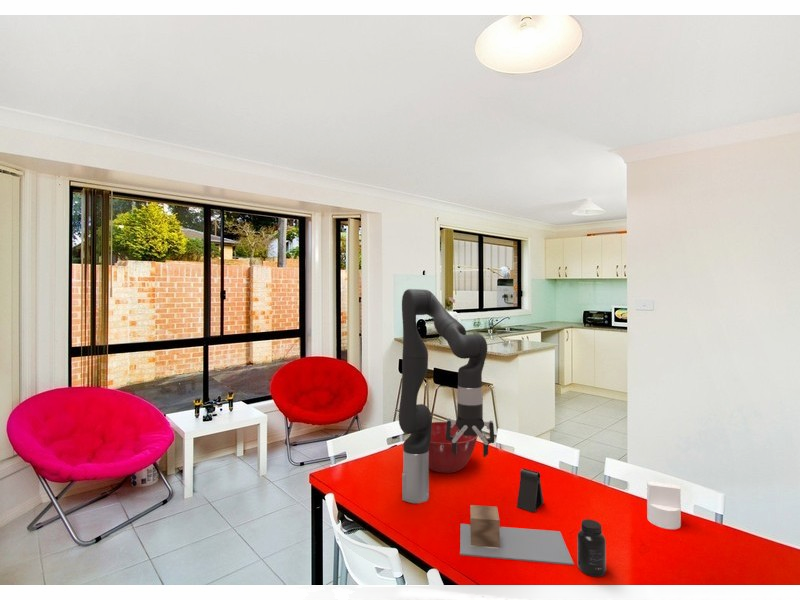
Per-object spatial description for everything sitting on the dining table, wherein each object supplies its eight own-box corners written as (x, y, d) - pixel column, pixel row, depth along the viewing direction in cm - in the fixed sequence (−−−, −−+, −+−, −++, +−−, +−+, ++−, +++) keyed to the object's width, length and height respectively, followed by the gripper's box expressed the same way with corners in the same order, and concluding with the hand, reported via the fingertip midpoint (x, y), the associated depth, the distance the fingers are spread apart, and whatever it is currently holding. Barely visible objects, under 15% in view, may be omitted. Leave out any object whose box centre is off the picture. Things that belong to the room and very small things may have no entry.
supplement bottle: (572, 561, 113) (572, 517, 113) (596, 560, 113) (596, 516, 114) (586, 578, 106) (585, 531, 106) (611, 577, 107) (611, 529, 107)
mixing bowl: (484, 481, 164) (484, 442, 164) (411, 481, 164) (411, 441, 165) (472, 455, 192) (472, 421, 192) (410, 455, 193) (410, 421, 193)
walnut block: (470, 546, 119) (470, 518, 120) (470, 531, 127) (470, 504, 127) (499, 548, 118) (499, 520, 118) (497, 533, 126) (497, 506, 126)
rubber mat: (460, 555, 116) (460, 553, 116) (460, 524, 132) (460, 523, 132) (573, 565, 111) (573, 563, 111) (560, 532, 127) (560, 531, 127)
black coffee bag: (533, 513, 139) (533, 477, 139) (516, 507, 143) (516, 472, 143) (543, 503, 146) (543, 469, 146) (527, 498, 150) (527, 464, 150)
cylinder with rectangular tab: (675, 518, 136) (675, 481, 136) (684, 532, 127) (684, 493, 127) (644, 513, 139) (644, 477, 139) (650, 527, 130) (650, 488, 130)
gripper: (445, 403, 123) (445, 458, 123) (494, 405, 120) (495, 461, 120) (446, 397, 130) (446, 449, 130) (493, 399, 128) (493, 452, 128)
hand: (470, 455), depth 125 cm, fingers open, 8 cm apart
